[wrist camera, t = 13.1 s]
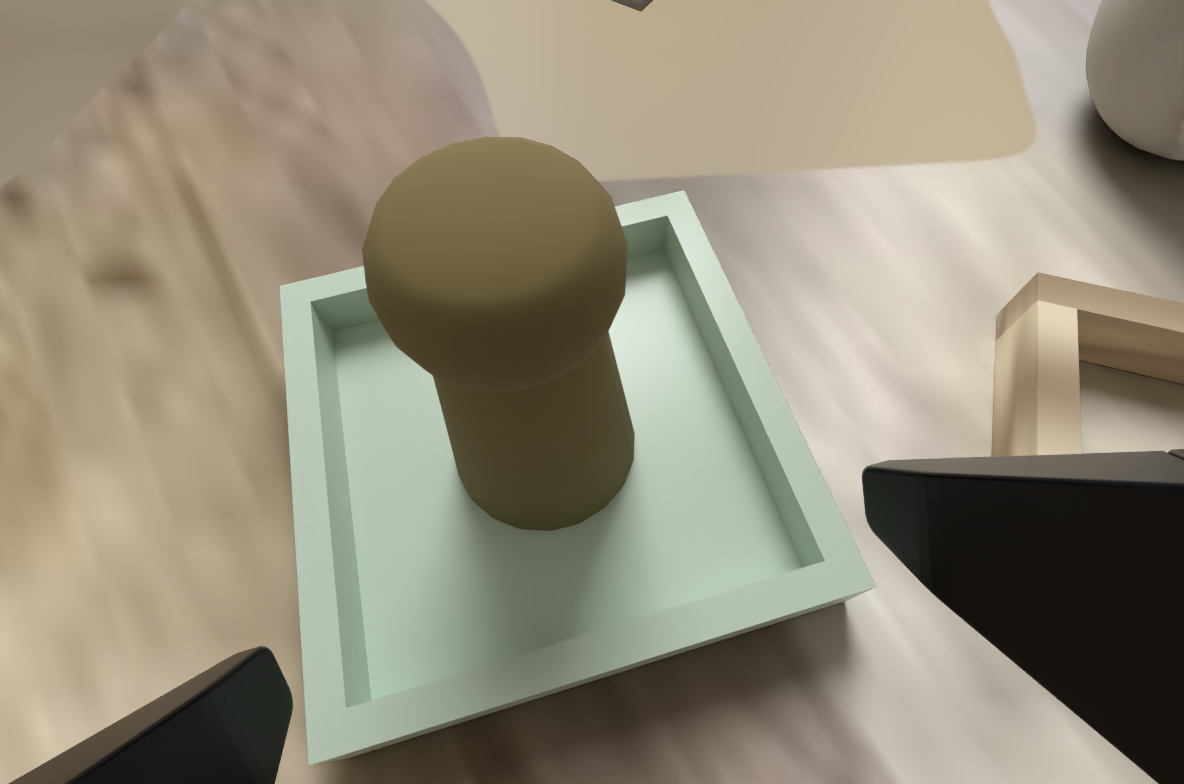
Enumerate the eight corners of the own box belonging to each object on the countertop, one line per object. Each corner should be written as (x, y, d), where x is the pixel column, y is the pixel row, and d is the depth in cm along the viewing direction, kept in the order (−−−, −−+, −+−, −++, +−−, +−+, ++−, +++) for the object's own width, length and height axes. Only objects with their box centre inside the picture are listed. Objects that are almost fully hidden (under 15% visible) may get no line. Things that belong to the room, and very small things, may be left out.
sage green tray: (844, 601, 19) (876, 586, 16) (348, 758, 17) (308, 765, 15) (677, 235, 25) (684, 190, 23) (310, 325, 24) (280, 286, 22)
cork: (666, 486, 20) (716, 267, 10) (488, 562, 19) (353, 403, 9) (592, 340, 22) (575, 55, 13) (433, 401, 21) (282, 142, 12)
